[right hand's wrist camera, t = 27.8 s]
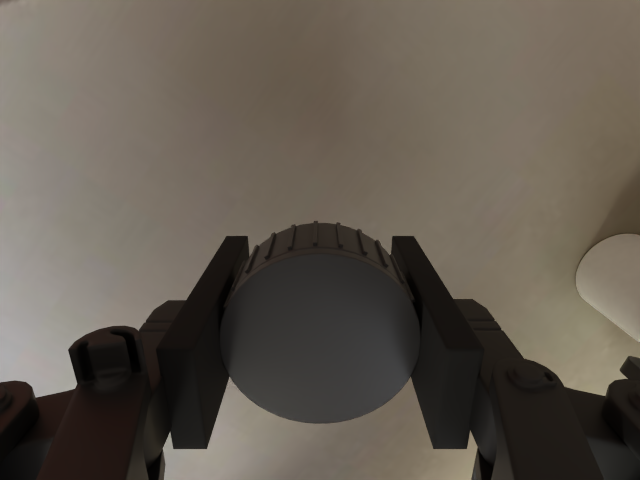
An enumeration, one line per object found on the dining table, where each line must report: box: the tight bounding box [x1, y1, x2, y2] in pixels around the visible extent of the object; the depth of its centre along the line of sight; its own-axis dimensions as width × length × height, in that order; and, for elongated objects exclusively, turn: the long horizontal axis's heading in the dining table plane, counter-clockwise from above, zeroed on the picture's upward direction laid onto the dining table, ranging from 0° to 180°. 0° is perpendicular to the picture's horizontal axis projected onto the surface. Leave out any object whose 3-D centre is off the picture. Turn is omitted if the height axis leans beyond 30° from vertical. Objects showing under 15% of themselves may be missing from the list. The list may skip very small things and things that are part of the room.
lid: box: [219, 221, 421, 423], centre depth 11 cm, size 5×5×2 cm
